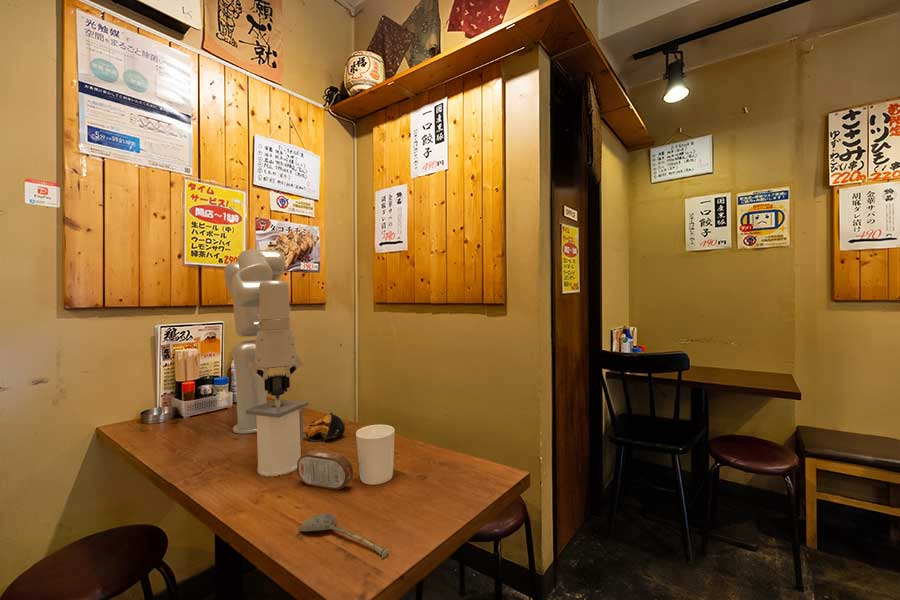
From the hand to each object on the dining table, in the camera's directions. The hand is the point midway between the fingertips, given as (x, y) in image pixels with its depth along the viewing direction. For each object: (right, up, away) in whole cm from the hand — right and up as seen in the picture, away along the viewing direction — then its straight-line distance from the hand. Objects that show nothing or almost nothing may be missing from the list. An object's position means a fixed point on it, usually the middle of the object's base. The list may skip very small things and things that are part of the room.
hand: (277, 391), depth 107 cm
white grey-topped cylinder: (+1, -21, +2) cm, 21 cm away
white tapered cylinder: (+29, -21, -7) cm, 36 cm away
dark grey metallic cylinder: (0, -13, 0) cm, 13 cm away
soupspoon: (+27, -22, -32) cm, 47 cm away
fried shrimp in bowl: (+4, -21, +21) cm, 30 cm away
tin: (+17, -21, -11) cm, 29 cm away
